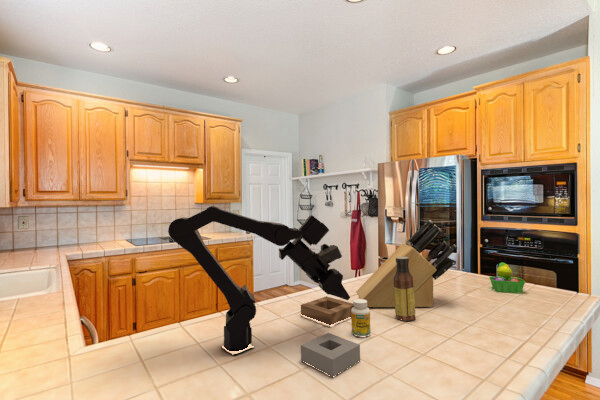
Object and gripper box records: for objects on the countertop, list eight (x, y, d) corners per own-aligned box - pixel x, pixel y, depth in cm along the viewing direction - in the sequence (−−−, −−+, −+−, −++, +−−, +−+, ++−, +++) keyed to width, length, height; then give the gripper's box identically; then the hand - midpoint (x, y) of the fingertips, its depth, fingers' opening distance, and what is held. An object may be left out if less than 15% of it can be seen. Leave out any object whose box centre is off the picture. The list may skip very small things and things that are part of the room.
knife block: (460, 308, 110) (458, 220, 111) (361, 309, 111) (359, 222, 112) (446, 298, 122) (444, 219, 122) (356, 299, 122) (354, 220, 123)
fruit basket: (494, 292, 128) (493, 265, 128) (488, 287, 137) (487, 261, 137) (526, 294, 125) (525, 266, 125) (518, 288, 133) (517, 262, 134)
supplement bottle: (366, 329, 93) (366, 297, 93) (373, 337, 88) (372, 303, 88) (349, 331, 92) (348, 298, 93) (354, 338, 87) (354, 304, 87)
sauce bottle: (412, 315, 105) (411, 255, 105) (417, 322, 98) (416, 259, 99) (392, 314, 105) (391, 255, 105) (396, 321, 99) (395, 258, 99)
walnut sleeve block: (330, 327, 95) (330, 314, 95) (300, 316, 105) (300, 304, 105) (355, 316, 104) (355, 304, 104) (326, 307, 114) (326, 296, 114)
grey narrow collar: (332, 378, 68) (332, 359, 68) (301, 361, 75) (300, 344, 75) (360, 361, 75) (359, 344, 75) (328, 347, 82) (328, 332, 82)
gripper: (334, 239, 79) (375, 280, 81) (314, 233, 97) (349, 266, 100) (304, 273, 77) (348, 313, 80) (290, 260, 95) (326, 293, 98)
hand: (343, 294), depth 89 cm, fingers open, 9 cm apart
